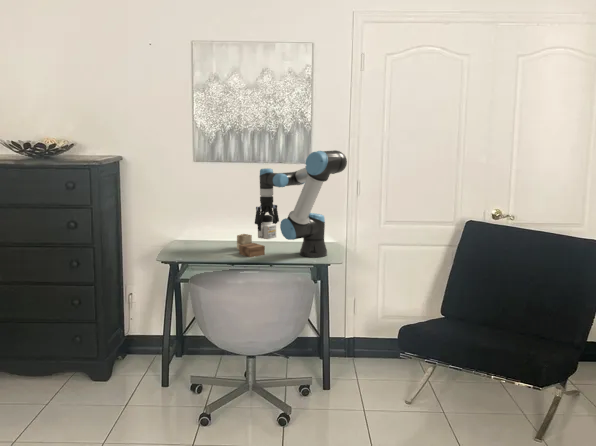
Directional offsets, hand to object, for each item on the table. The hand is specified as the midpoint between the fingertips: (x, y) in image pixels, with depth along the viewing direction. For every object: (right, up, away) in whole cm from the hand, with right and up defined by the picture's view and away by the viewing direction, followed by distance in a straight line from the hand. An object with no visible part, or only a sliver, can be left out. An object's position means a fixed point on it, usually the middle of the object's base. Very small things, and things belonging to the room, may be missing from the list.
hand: (267, 235), depth 364 cm
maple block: (-13, -8, +3) cm, 16 cm away
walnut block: (-8, -10, -11) cm, 17 cm away
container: (0, -2, 0) cm, 2 cm away
